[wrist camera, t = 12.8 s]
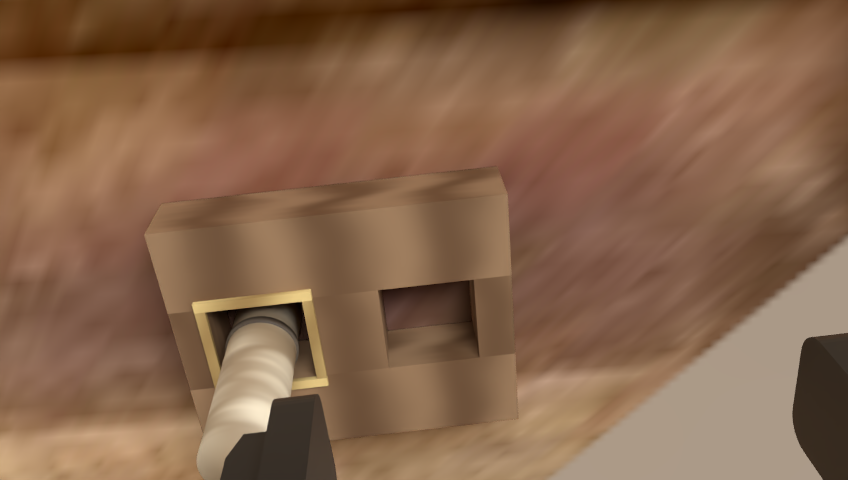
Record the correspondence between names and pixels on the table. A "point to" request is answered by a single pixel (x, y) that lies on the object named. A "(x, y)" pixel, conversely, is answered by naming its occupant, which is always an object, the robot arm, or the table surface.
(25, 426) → the table surface
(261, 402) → the birch peg
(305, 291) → the walnut board
